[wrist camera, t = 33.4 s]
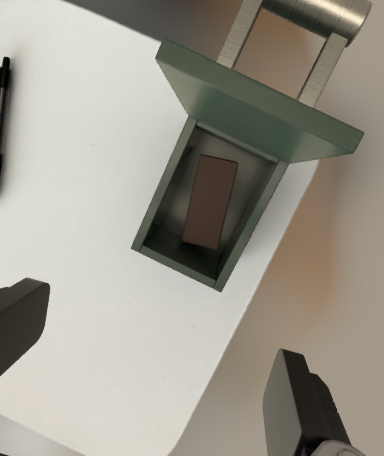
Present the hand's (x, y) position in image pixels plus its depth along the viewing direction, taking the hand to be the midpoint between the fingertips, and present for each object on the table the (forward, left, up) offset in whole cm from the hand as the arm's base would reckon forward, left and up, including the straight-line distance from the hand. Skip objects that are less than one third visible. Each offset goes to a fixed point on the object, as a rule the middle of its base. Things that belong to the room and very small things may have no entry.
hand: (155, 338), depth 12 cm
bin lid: (+5, -6, -8) cm, 11 cm away
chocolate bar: (+2, -1, -21) cm, 21 cm away
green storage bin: (+2, -2, -22) cm, 22 cm away
